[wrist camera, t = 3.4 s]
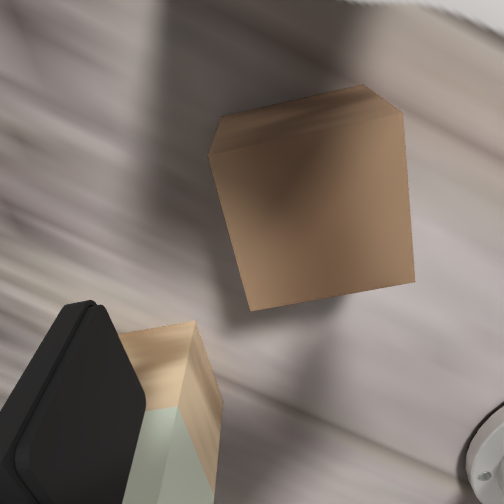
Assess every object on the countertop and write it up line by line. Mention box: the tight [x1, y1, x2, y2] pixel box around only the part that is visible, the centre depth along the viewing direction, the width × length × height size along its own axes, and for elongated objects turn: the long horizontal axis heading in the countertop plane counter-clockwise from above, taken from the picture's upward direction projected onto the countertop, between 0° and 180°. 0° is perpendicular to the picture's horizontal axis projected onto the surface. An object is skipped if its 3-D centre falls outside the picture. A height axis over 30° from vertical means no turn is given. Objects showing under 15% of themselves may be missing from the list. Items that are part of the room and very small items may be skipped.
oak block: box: [118, 321, 223, 495], centre depth 24 cm, size 6×6×6 cm
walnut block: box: [208, 84, 415, 312], centre depth 18 cm, size 6×6×6 cm
